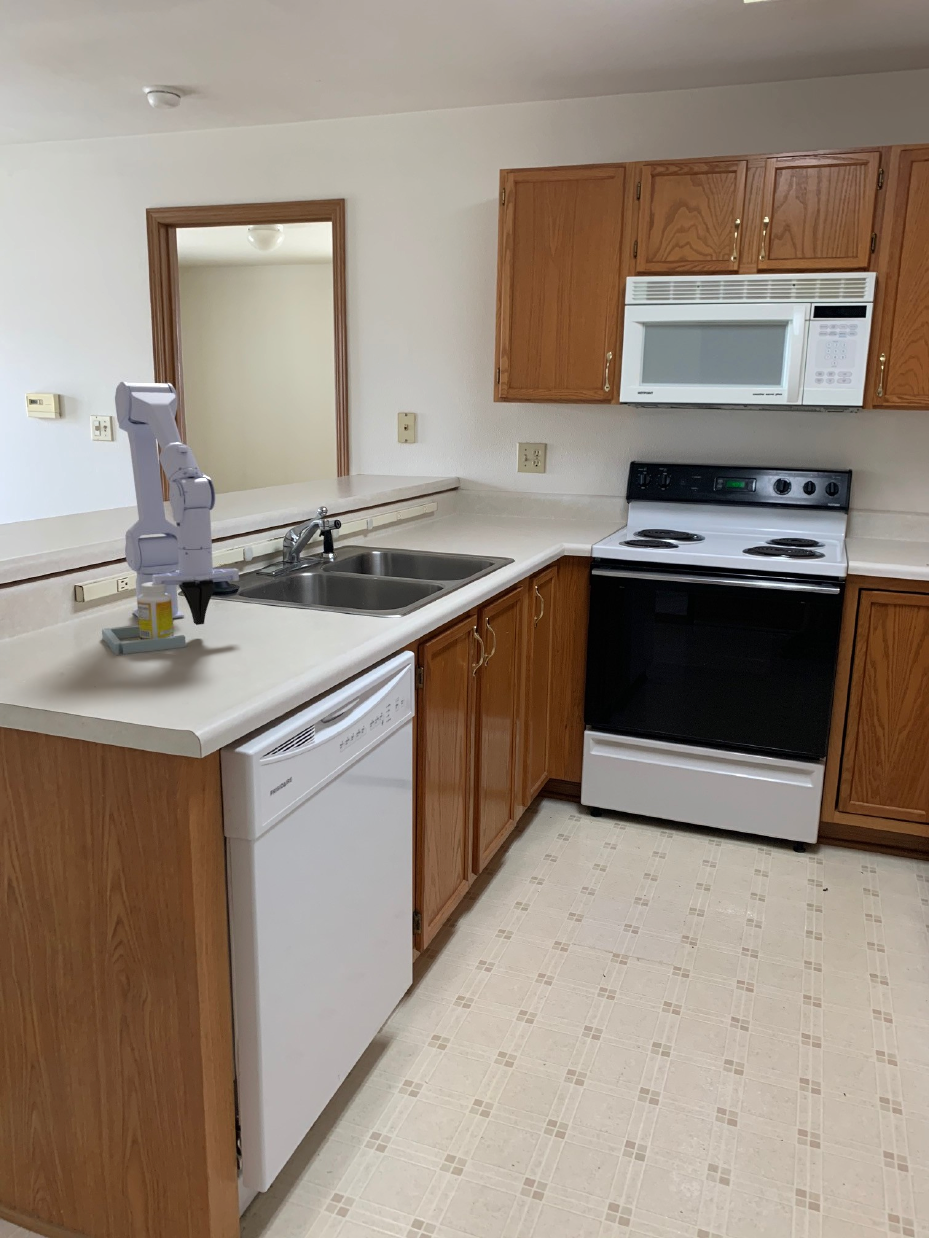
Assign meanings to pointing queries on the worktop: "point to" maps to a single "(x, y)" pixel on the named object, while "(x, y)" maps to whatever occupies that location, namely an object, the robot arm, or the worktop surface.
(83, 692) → the worktop surface
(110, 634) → the tray
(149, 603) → the supplement bottle
